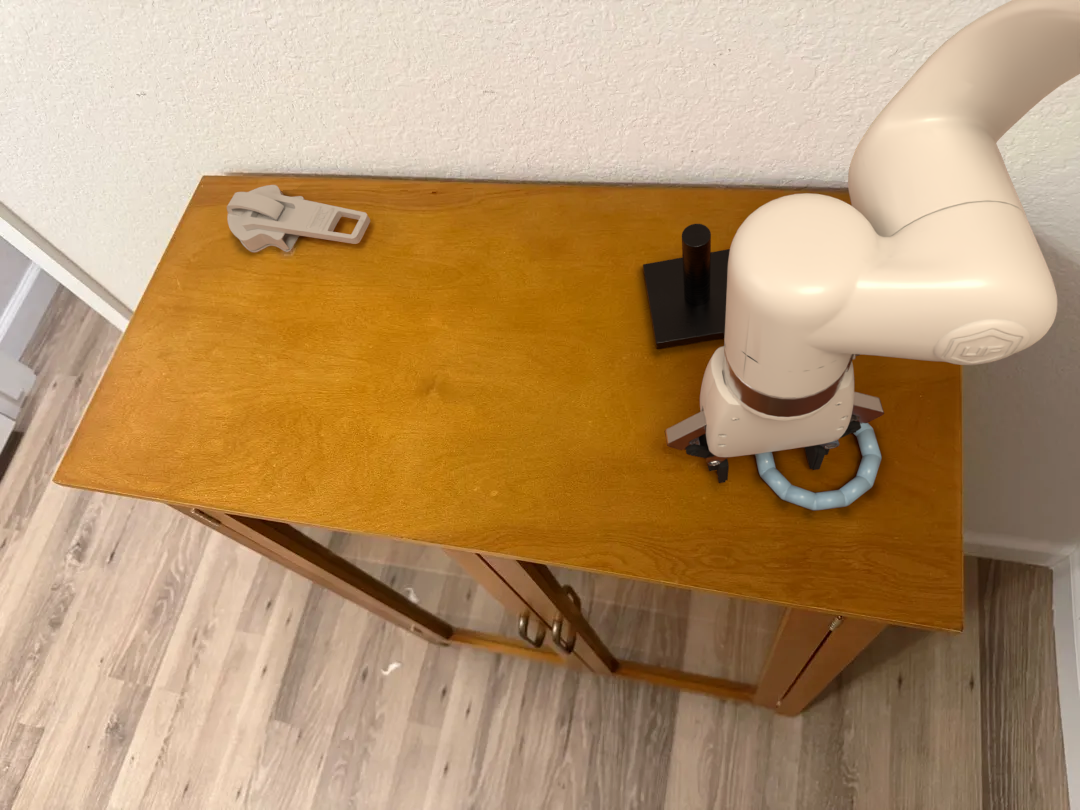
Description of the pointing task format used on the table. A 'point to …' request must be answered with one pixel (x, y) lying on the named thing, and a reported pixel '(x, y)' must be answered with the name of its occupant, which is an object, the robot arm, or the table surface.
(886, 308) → the robot arm
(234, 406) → the table surface
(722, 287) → the post
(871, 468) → the ring
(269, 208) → the zipper pull
